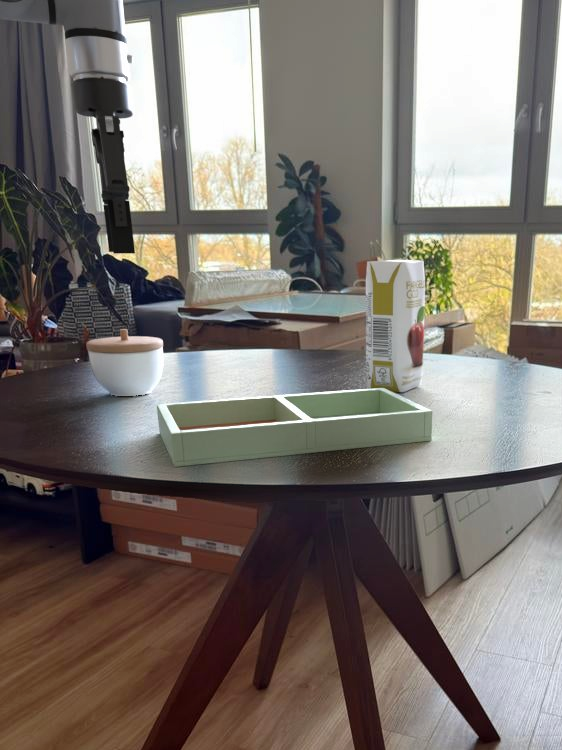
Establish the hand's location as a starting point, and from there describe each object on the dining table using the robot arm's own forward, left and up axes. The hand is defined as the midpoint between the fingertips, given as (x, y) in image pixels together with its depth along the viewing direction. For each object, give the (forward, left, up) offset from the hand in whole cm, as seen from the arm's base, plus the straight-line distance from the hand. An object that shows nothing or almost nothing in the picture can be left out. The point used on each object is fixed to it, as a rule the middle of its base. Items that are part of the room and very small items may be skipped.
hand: (121, 253), depth 103 cm
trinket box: (-1, 0, -20) cm, 20 cm away
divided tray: (+15, -34, -20) cm, 42 cm away
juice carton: (+38, -10, -20) cm, 44 cm away
